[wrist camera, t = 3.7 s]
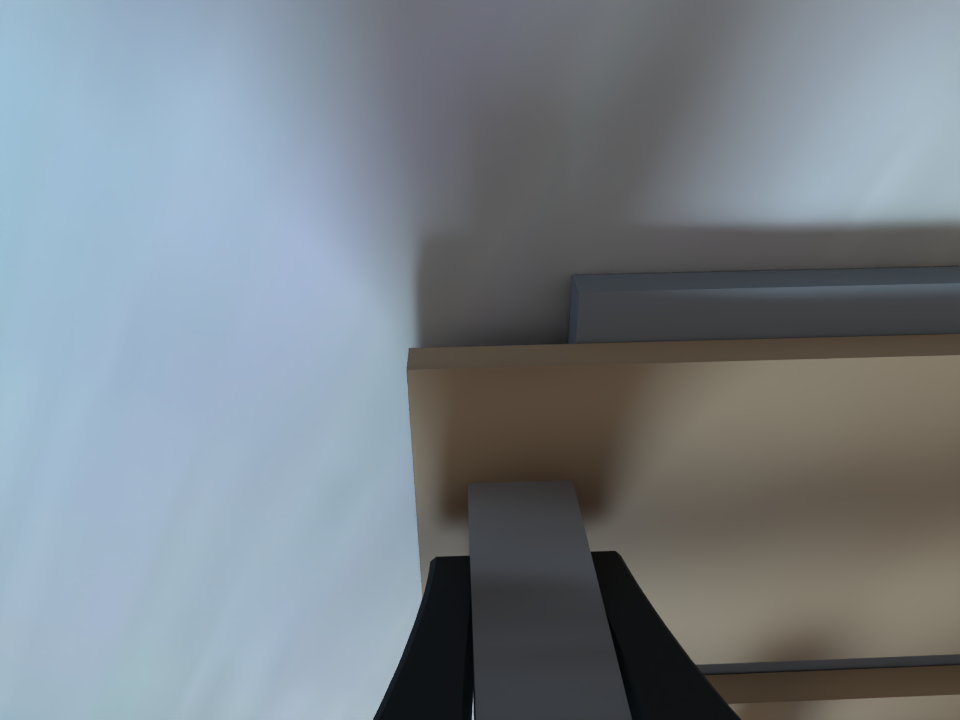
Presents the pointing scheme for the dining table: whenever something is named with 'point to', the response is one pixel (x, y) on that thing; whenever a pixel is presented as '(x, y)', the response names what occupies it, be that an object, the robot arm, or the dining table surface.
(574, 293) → the lane board
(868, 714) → the strip
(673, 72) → the dining table surface
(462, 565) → the robot arm
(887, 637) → the strip
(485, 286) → the dining table surface
